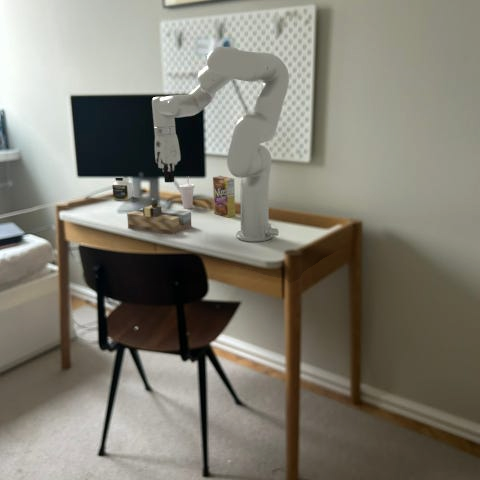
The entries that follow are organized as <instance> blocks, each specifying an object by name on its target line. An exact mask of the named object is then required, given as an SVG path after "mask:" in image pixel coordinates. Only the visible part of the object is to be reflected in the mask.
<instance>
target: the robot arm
mask: <svg viewBox="0 0 480 480" xmlns="http://www.w3.org/2000/svg"><path fill="white" fill-rule="evenodd" d="M289 74H290V73H289V70H288V67H287V66H286V64H285V62H284V61H283V60H282V58H280V57H279V56H277V55H275V54H273V53H269V52H257V51H256V52H255V51H246V50H240V49H239V48H236V47H231V46H216V47H214V48H213V49H212V50H210V52H209V53H208V55H207V57H206V66H204V68H203V69H201V70H200V71H199V72H198V75H197V81H198V83H199V85H198V86H197V87H196V88H195V89H193V90H192V91H191V92H190V93H188V94H185V93H184V94H175V95H173V94H172V95H166V96H165V95H163V96H162V95H161V96H155V97H153V98H152V100H151V107H152V120H153V129H154V157H155V163H156V164H157V165H158V166H157V168H159V169H161V170H162V172H163V176H164V177H163V179H164V182H165V183H174V182H175V174H174V173H175V172H174V171H175V166H176V165H178V162H180V161H181V150H180V144H179V143H180V142H179V138H178V135H177V133H176V121H175V120H176V119H175V118H185V117H192V116H195V115H197V114H199V113H200V112H202V111H203V110H204V109H205V108H206V107H207V106H209V105H210V104H211V103H212V102H213V100H214V98H215V96H216V94H217V93H218V91H220V90H221V89H222V88H224V86H226V85H227V84H229V82H231V81H233V80H237V81H243V82H247V83H249V82H250V83H253V82H254V83H255V82H260V83H261V82H262V85H261V86H262V87H261V88H260V90H259V93H258V94H257V95H256V101H255V105H254V108H253V110H252V113H248V114H247V113H246V114H245V115H242V116H241V117H240V118H239V119H238V121H237V122H236V124H235V125H234V129H233V132H232V137H231V140H230V144H229V147H228V153H227V156H226V157H227V159H226V165H227V170H228V171H229V172H230V174H231V175H232V176H233V177H235V178H239V179H240V192H239V193H240V230H239V231H237V232H236V236H235V237H236V238H237V239H239V240H240V241H244V242H252V243H254V242H257V243H258V242H265V241H269V240H271V239H272V238H273V236H279V233H280V232H279V228H275V227H274V228H273V227H272V223H269V203H270V202H269V201H270V200H269V198H270V197H269V192H270V191H269V189H270V188H269V187H270V174H271V169H272V154H271V152H270V151H269V149H268V148H267V147H266V146H265V145H262V144H264V143H267V142H269V141H271V140H272V139H273V138H274V137H275V135H276V133H277V128H278V125H279V121H280V117H281V115H282V110H283V105H284V102H285V99H286V95H287V93H288V88H289V84H290V83H289V82H290V76H289Z"/></svg>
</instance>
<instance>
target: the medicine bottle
mask: <svg viewBox="0 0 480 480" xmlns="http://www.w3.org/2000/svg"><path fill="white" fill-rule="evenodd" d="M114 179H115V180H114V181H115V182H114V183H112V184H111V185H112V186H111V187H112V196H113V197H112V199H113V200H118V201H119V200H120V201H128V200H130V199H132V198H133V197H132V183H133V181H130V178H115V177H114ZM131 197H132V198H131Z"/></svg>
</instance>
